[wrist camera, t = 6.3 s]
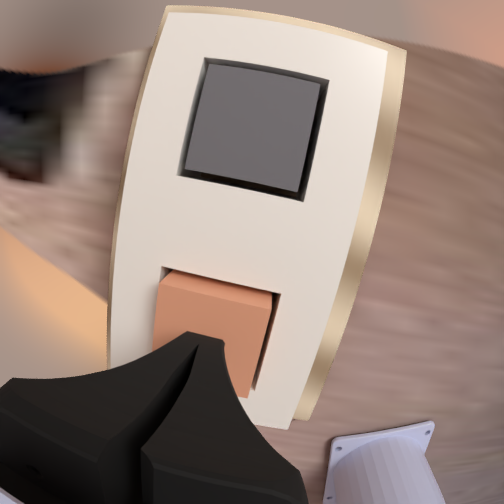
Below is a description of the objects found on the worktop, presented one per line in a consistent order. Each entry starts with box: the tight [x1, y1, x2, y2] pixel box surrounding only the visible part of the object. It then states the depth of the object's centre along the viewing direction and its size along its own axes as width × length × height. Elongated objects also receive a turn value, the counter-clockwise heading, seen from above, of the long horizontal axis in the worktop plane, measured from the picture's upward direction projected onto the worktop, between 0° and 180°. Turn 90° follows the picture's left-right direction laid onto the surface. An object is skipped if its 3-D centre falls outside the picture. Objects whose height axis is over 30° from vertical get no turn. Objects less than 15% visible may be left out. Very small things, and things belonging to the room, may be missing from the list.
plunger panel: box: [111, 12, 388, 430], centre depth 13 cm, size 17×9×4 cm, turn 168°
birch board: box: [107, 6, 407, 421], centre depth 16 cm, size 22×13×1 cm, turn 168°
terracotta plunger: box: [152, 269, 272, 399], centre depth 13 cm, size 4×4×4 cm
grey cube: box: [185, 64, 320, 192], centre depth 12 cm, size 4×4×4 cm
